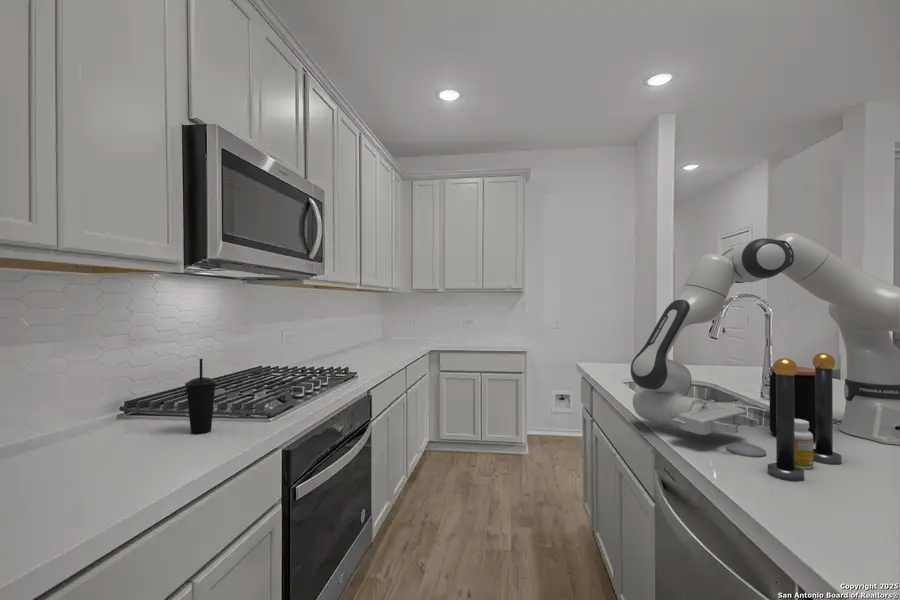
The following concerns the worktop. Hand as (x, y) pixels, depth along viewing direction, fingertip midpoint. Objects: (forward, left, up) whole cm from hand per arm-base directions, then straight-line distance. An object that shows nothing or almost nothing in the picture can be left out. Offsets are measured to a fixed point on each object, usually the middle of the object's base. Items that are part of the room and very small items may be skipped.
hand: (747, 426), depth 108 cm
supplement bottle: (-9, +5, -6) cm, 12 cm away
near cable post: (-6, +14, -6) cm, 16 cm away
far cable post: (-15, -2, -6) cm, 16 cm away
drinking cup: (+129, +53, -6) cm, 140 cm away
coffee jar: (-12, -20, -6) cm, 24 cm away
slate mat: (0, 0, -6) cm, 6 cm away
